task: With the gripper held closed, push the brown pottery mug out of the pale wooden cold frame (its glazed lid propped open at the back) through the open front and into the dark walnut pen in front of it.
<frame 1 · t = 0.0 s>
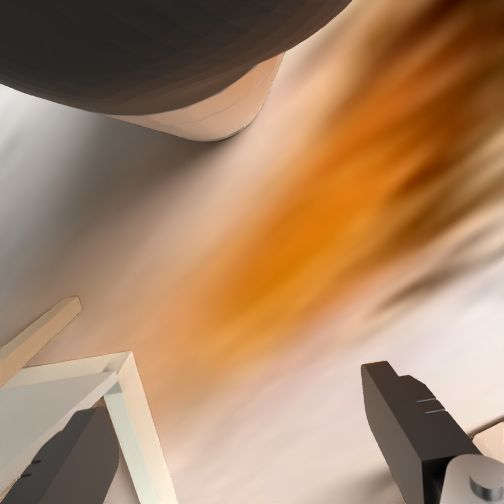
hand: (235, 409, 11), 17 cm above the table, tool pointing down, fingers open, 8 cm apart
cold frame: (58, 481, 33), on the table
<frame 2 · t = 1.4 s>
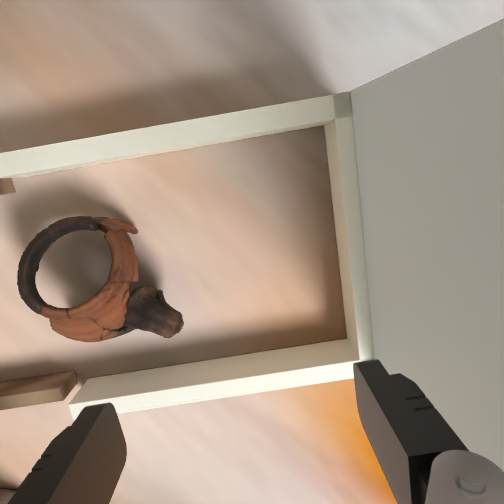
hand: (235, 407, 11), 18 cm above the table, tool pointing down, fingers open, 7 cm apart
cold frame: (204, 261, 28), on the table
pottery mug: (125, 278, 29), on the table
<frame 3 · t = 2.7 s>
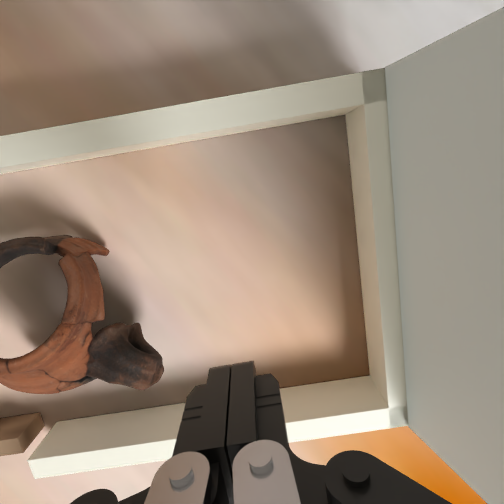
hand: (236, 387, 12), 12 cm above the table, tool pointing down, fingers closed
cold frame: (196, 283, 23), on the table
pottery mug: (96, 307, 24), on the table
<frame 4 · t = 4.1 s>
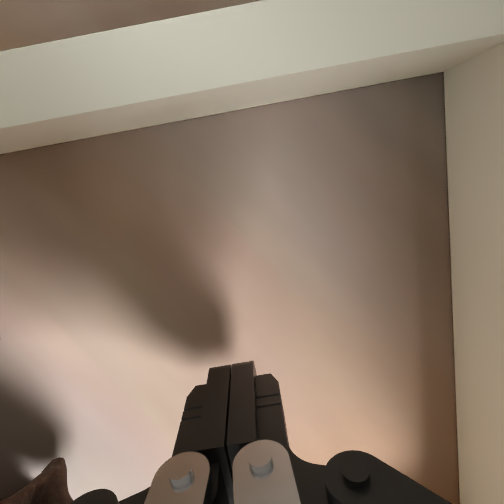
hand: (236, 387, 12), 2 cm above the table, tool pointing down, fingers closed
cold frame: (168, 376, 13), on the table
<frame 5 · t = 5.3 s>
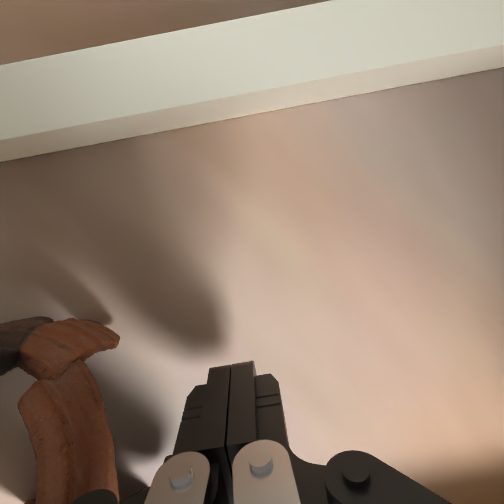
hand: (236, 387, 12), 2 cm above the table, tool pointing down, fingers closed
cold frame: (314, 354, 13), on the table
pottery mug: (99, 423, 14), on the table
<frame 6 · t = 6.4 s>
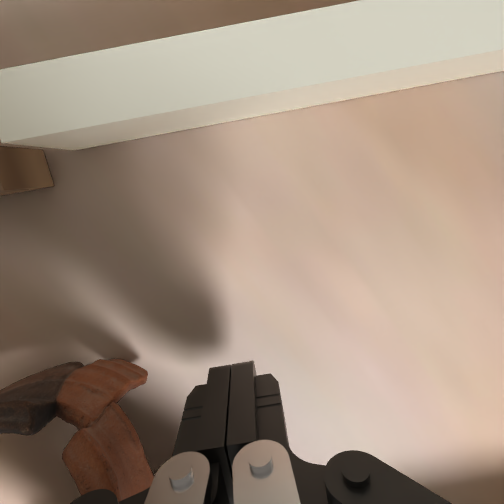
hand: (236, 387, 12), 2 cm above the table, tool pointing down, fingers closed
cold frame: (458, 331, 13), on the table
pottery mug: (137, 454, 15), on the table, touching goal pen
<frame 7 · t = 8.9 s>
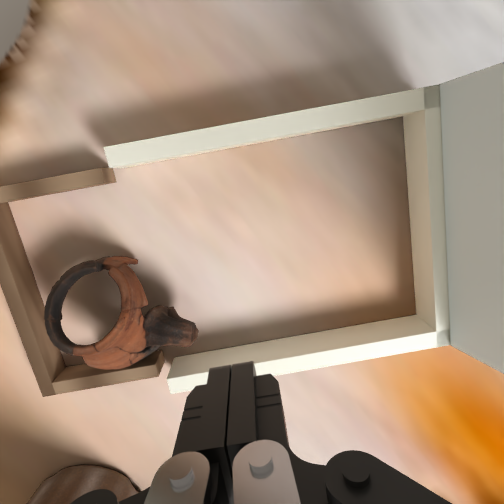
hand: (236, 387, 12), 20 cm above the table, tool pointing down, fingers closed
cold frame: (288, 244, 31), on the table
pottery mug: (139, 305, 32), on the table
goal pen: (86, 281, 31), on the table
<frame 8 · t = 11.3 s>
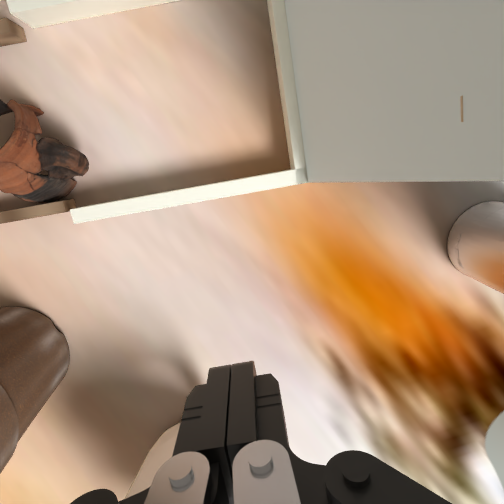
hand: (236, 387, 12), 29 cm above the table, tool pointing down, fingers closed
cold frame: (175, 101, 36), on the table
watering can: (202, 455, 47), on the table
pottery mug: (50, 157, 38), on the table
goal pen: (6, 132, 37), on the table
plant pot: (21, 349, 43), on the table
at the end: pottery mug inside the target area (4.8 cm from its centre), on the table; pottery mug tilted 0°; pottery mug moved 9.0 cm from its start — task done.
